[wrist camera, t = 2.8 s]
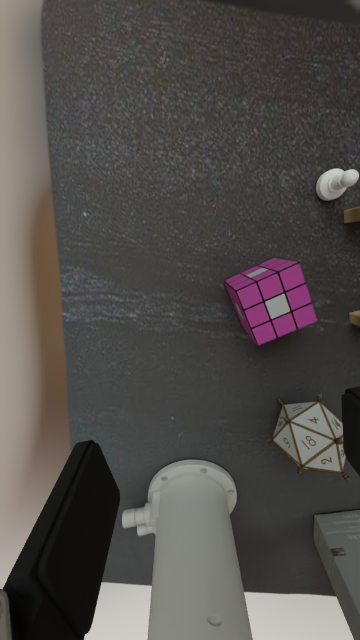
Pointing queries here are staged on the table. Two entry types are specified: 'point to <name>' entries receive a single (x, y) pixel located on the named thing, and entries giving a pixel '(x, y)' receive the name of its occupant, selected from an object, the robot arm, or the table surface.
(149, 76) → the table surface
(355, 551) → the cosmetic box
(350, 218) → the frame
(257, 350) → the table surface
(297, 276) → the puzzle toy
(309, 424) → the game die
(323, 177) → the chess pawn
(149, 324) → the table surface
